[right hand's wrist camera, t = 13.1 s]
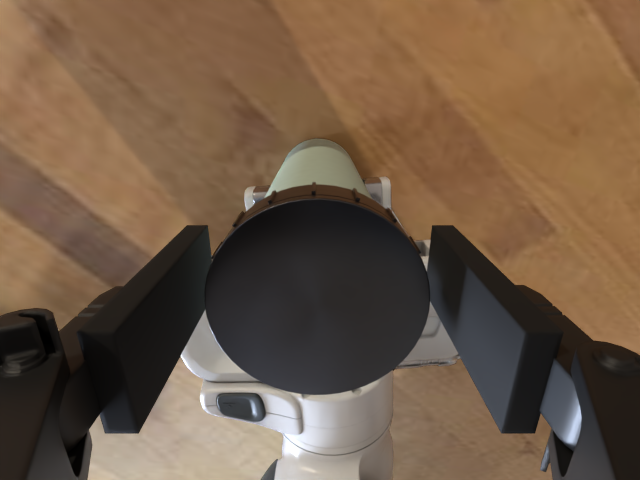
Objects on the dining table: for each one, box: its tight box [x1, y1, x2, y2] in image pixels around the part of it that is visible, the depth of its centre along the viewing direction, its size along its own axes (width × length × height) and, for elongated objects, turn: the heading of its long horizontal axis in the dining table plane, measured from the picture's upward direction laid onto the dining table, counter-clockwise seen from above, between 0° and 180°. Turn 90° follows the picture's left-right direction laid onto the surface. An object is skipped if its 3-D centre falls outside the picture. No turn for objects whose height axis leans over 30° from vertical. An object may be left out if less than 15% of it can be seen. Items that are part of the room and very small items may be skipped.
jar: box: [265, 139, 372, 199], centre depth 19 cm, size 6×6×18 cm
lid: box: [204, 182, 430, 395], centre depth 11 cm, size 7×7×2 cm
